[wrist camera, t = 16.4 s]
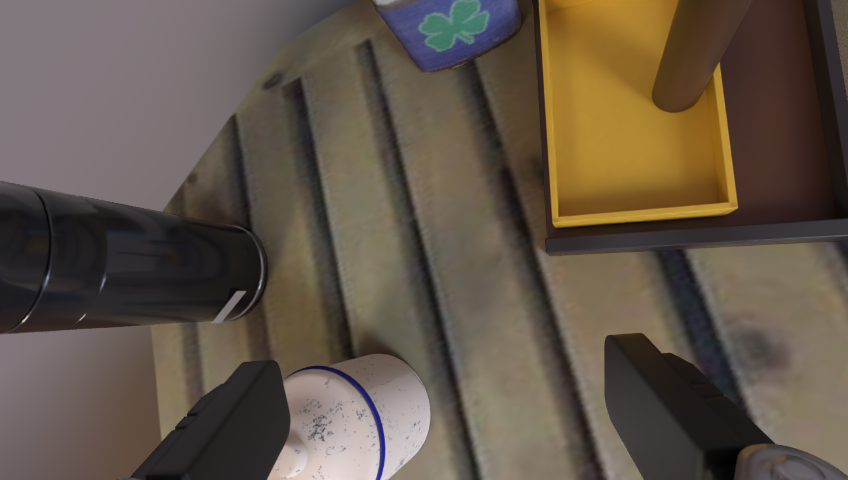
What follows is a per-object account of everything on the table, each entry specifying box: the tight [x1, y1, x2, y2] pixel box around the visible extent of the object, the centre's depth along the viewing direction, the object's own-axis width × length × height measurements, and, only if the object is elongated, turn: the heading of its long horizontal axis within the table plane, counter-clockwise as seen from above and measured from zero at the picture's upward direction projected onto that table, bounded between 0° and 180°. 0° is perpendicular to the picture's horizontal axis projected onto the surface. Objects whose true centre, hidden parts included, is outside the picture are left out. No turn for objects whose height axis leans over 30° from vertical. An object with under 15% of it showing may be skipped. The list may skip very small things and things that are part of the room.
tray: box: [539, 0, 753, 228], centre depth 20 cm, size 10×16×18 cm, turn 1°
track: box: [532, 0, 848, 256], centre depth 27 cm, size 16×20×2 cm
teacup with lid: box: [267, 354, 430, 480], centre depth 28 cm, size 12×9×12 cm
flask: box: [371, 0, 522, 74], centre depth 30 cm, size 9×3×11 cm, turn 102°
